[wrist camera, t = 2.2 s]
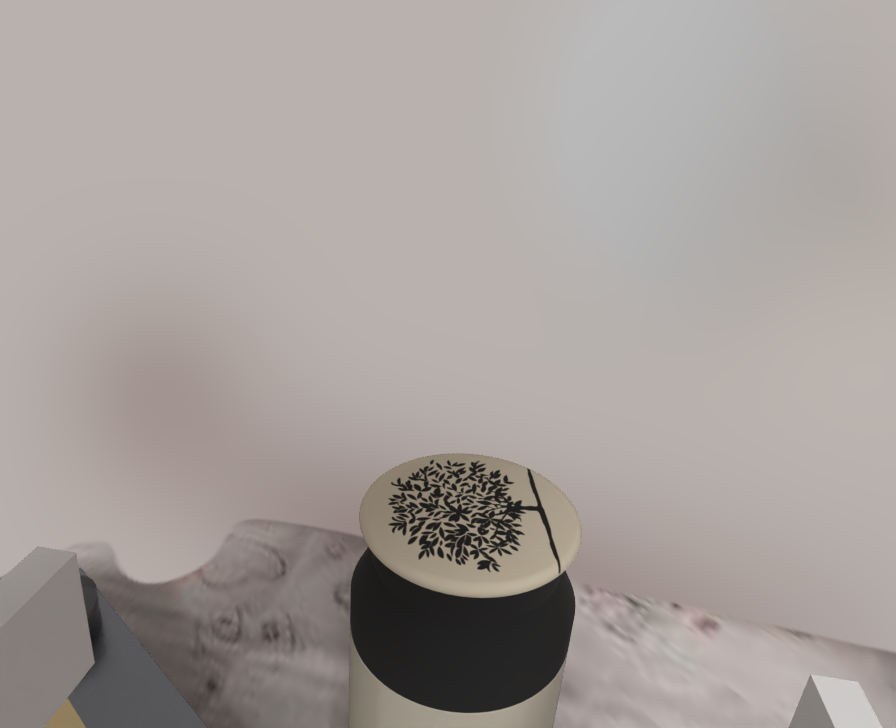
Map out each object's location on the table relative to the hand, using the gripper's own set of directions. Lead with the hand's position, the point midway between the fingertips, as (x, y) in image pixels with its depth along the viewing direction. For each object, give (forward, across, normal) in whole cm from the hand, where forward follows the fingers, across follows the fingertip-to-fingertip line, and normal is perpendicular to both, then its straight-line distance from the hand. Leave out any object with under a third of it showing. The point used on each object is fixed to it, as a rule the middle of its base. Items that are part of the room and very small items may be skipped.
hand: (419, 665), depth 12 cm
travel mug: (+10, 0, -22) cm, 24 cm away
